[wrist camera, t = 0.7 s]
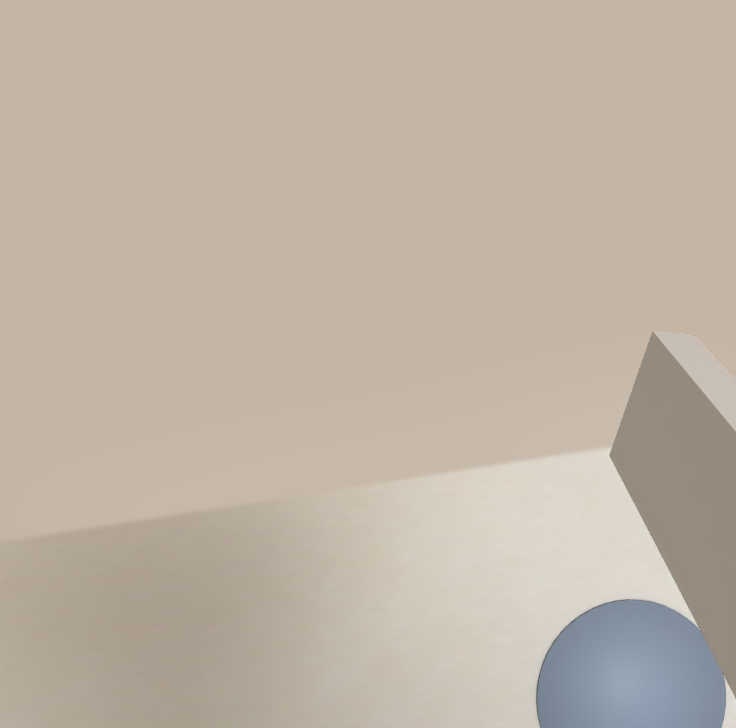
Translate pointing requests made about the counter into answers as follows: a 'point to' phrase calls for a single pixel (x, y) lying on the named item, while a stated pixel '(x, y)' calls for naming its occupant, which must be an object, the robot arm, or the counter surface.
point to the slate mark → (631, 672)
